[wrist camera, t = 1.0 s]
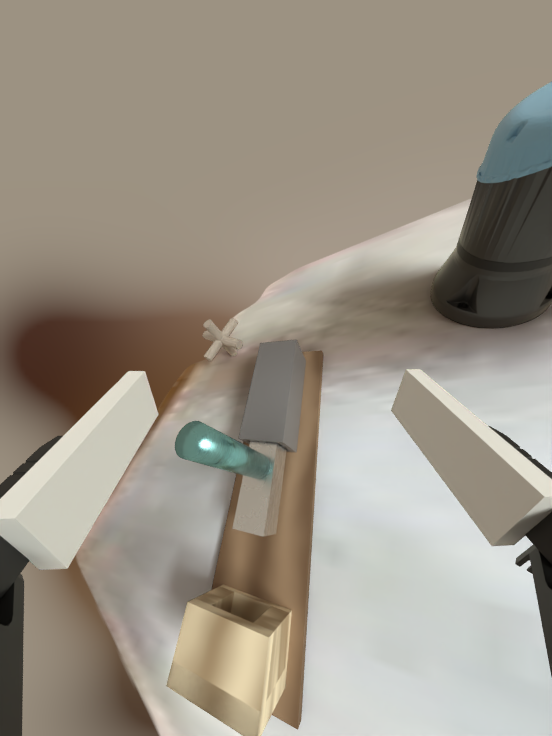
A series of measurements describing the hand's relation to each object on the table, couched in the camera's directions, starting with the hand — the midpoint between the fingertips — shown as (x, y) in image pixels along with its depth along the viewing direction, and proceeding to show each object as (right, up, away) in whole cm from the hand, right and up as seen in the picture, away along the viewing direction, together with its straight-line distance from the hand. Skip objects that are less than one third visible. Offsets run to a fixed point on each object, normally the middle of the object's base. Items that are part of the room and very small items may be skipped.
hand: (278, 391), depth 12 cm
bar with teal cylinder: (0, -9, +23) cm, 24 cm away
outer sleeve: (+1, -4, +26) cm, 27 cm away
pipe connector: (-10, +4, +39) cm, 40 cm away
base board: (0, -15, +22) cm, 26 cm away
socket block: (-3, -28, +13) cm, 31 cm away
